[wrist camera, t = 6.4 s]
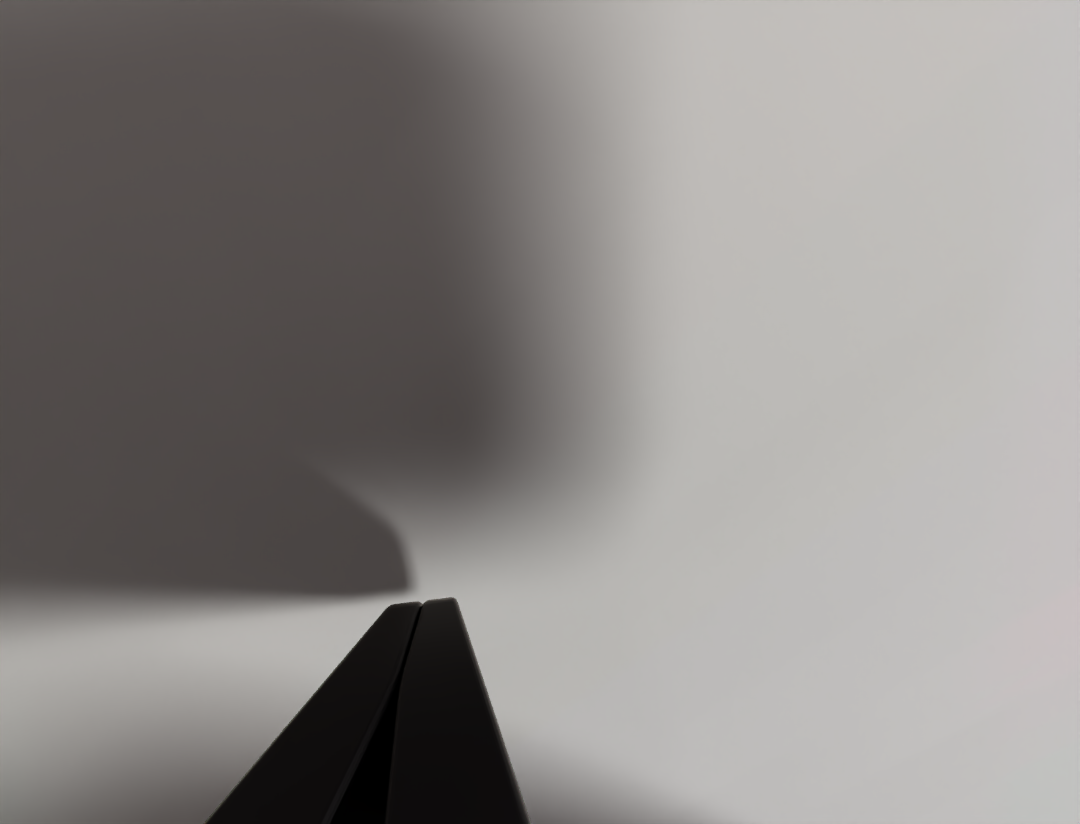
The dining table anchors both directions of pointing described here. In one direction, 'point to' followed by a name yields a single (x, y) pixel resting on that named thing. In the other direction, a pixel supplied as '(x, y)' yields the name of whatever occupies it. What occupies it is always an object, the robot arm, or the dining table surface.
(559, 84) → the dining table surface
